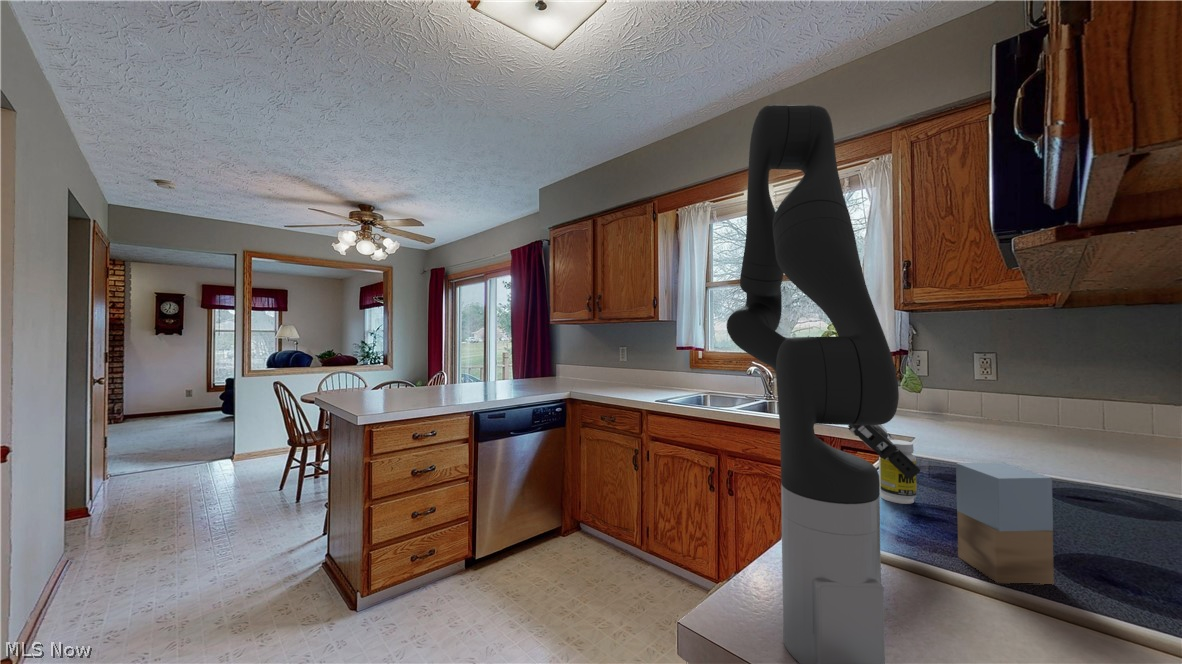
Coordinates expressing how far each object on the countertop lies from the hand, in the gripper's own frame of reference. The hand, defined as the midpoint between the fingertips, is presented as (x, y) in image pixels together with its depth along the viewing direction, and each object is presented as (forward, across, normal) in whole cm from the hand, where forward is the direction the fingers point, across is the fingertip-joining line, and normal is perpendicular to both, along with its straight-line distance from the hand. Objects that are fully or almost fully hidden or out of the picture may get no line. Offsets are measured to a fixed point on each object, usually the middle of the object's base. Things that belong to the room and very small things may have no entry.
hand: (912, 469), depth 70 cm
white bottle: (+8, +22, +8) cm, 25 cm away
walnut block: (+15, -3, +1) cm, 16 cm away
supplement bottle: (+2, 0, +4) cm, 5 cm away
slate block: (+10, -3, -4) cm, 11 cm away
